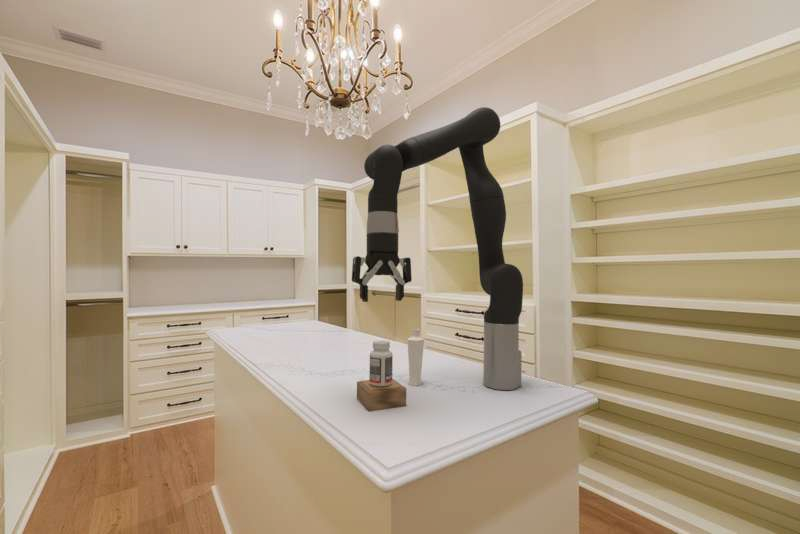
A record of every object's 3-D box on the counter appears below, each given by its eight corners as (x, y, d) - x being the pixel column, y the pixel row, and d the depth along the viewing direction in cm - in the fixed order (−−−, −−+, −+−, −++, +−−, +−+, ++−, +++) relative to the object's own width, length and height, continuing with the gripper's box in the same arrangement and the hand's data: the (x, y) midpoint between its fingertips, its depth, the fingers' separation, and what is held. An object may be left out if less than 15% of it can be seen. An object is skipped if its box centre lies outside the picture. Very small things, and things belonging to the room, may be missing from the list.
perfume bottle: (422, 386, 98) (422, 330, 98) (406, 385, 99) (406, 330, 99) (424, 381, 103) (425, 328, 103) (409, 380, 104) (409, 327, 104)
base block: (391, 393, 92) (391, 376, 92) (406, 405, 84) (406, 387, 84) (356, 398, 88) (357, 380, 88) (368, 411, 80) (368, 391, 80)
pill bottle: (388, 379, 90) (388, 339, 90) (395, 386, 84) (395, 343, 85) (366, 381, 88) (367, 340, 88) (372, 388, 83) (373, 344, 83)
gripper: (403, 235, 93) (403, 299, 93) (349, 232, 87) (348, 300, 87) (416, 232, 86) (416, 301, 86) (358, 229, 80) (357, 303, 80)
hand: (382, 301), depth 86 cm, fingers open, 8 cm apart
